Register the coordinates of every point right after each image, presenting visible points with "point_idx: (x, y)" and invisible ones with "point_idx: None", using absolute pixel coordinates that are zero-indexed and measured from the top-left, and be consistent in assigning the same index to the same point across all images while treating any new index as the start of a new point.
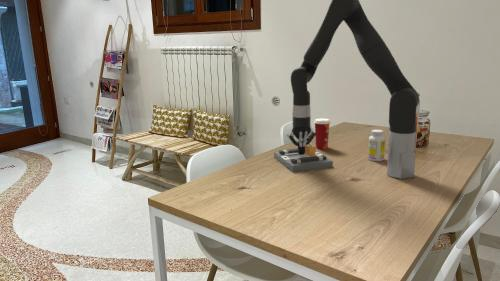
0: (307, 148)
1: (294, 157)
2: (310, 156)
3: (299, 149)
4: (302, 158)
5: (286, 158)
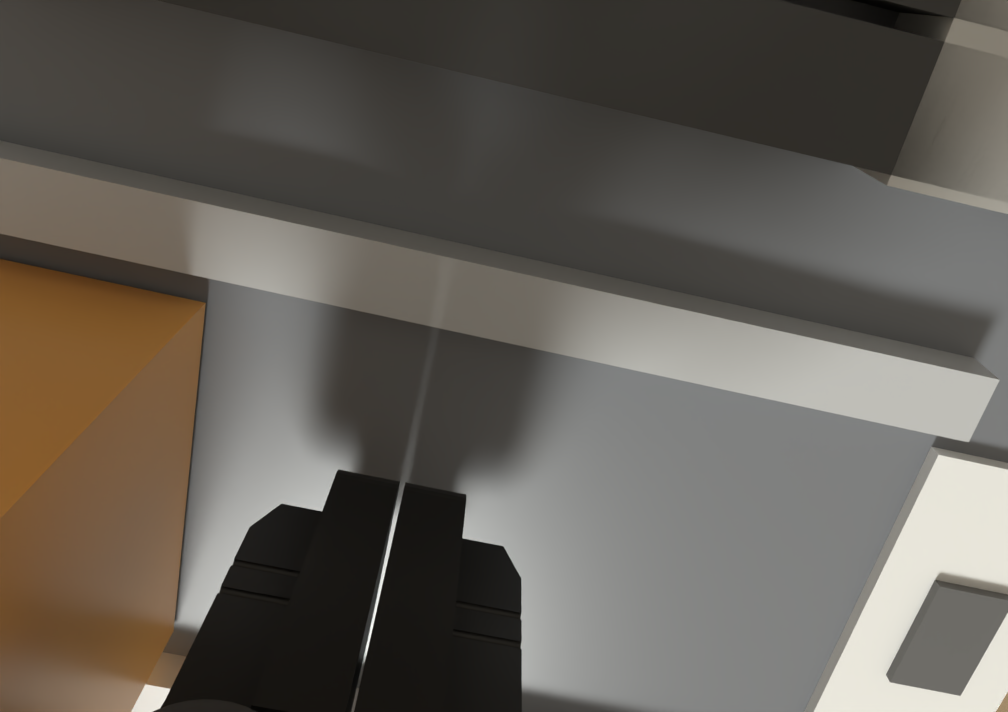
0: (60, 614)
1: (666, 533)
2: (187, 213)
3: (500, 680)
4: (778, 17)
5: (986, 561)
